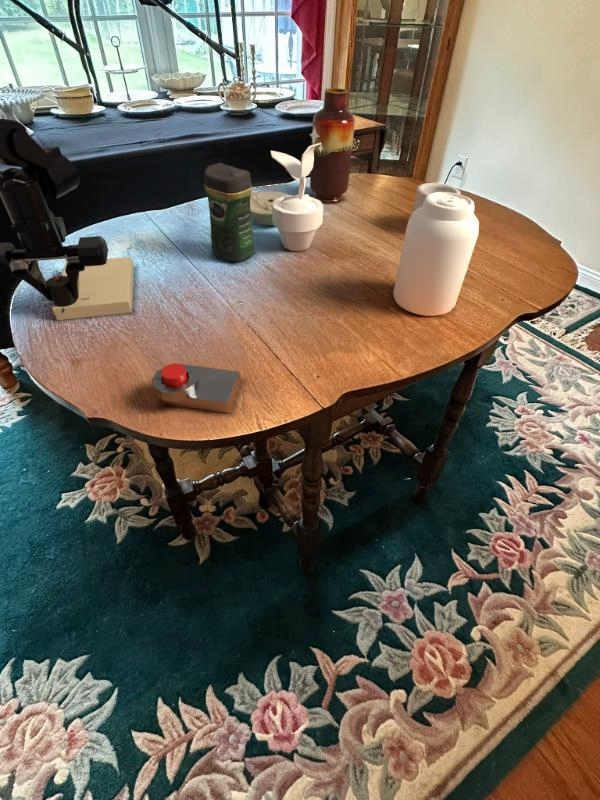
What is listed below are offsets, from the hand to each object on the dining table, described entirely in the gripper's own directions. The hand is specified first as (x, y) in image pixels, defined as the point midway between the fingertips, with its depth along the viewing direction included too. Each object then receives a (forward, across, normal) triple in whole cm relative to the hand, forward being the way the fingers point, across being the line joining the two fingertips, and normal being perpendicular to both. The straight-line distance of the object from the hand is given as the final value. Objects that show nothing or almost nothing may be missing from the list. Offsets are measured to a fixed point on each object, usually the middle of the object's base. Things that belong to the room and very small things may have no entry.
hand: (64, 298), depth 78 cm
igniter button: (-1, -19, +27) cm, 33 cm away
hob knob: (0, 0, 0) cm, 0 cm away
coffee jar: (+4, -33, -18) cm, 38 cm away
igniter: (+3, -22, +27) cm, 35 cm away
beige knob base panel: (+3, -3, -6) cm, 7 cm away
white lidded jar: (+4, -68, +8) cm, 69 cm away
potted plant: (+4, -48, -20) cm, 52 cm away
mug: (+4, -86, -25) cm, 89 cm away
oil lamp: (+4, -43, -38) cm, 58 cm away
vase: (+4, -65, -50) cm, 82 cm away
